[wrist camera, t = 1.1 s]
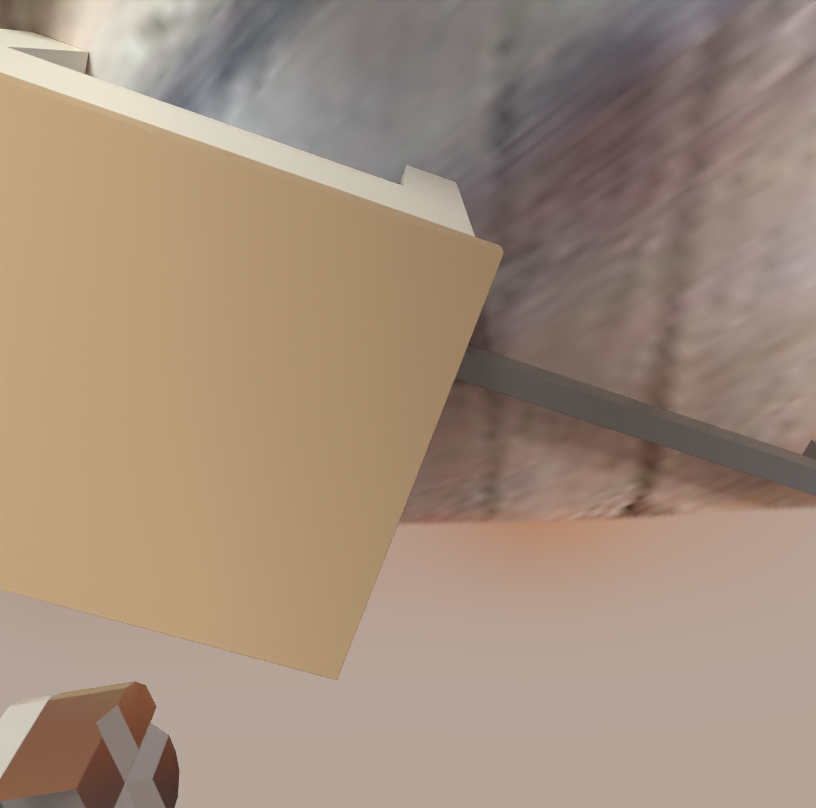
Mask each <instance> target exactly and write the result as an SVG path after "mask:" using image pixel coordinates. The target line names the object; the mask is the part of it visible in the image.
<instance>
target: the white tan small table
mask: <svg viewBox="0 0 816 808" xmlns="http://www.w3.org/2000/svg"><path fill="white" fill-rule="evenodd" d="M88 53H89V52H87V51H85V50H82V49H79V48H76V47H73V46H71V45H68V44H65V43H62V42H59V41H56V40H54V39H51V38H48V37H45V36H42V35H40V34H37V33H34V32H28V31H18V30H9V29H0V590H4V591H7V592H11V593H15V594H18V595H22V596H26V597H30V598H33V599H37V600H41V601H44V602H48V603H52V604H56V605H59V606H63V607H67V608H70V609H74V610H78V611H82V612H86V613H89V614H93V615H97V616H100V617H104V618H108V619H112V620H115V621H119V622H122V623H126V624H130V625H134V626H137V627H141V628H145V629H148V630H152V631H156V632H160V633H164V634H167V635H171V636H174V637H179V638H182V639H186V640H189V641H193V642H197V643H201V644H204V645H208V646H212V647H216V648H219V649H223V650H227V651H230V652H234V653H238V654H241V655H246V656H249V657H253V658H256V659H260V660H264V661H268V662H271V663H275V664H279V665H283V666H286V667H290V668H293V669H297V670H301V671H305V672H309V673H312V674H316V675H319V676H323V677H327V678H331V679H334V680H337V679H338V676H339V674H340V671H341V668H342V666H343V664H344V661H345V658H346V656H347V653H348V651H349V648H350V645H351V643H352V640H353V638H354V635H355V633H356V630H357V627H358V625H359V622H360V620H361V617H362V615H363V612H364V610H365V607H366V605H367V602H368V600H369V597H370V594H371V592H372V589H373V587H374V584H375V581H376V579H377V577H378V574H379V571H380V569H381V566H382V564H383V561H384V558H385V556H386V553H387V551H388V548H389V546H390V543H391V541H392V538H393V536H394V533H395V530H396V528H397V525H398V523H399V520H400V518H401V515H402V513H403V510H404V507H405V505H406V502H407V500H408V497H409V495H410V492H411V489H412V487H413V484H414V482H415V479H416V477H417V474H418V472H419V469H420V466H421V464H422V461H423V459H424V456H425V454H426V451H427V449H428V446H429V443H430V441H431V438H432V436H433V433H434V431H435V428H436V425H437V423H438V420H439V418H440V415H441V413H442V410H443V408H444V405H445V402H446V400H447V397H448V395H449V392H450V390H451V387H452V385H453V382H454V379H455V377H456V374H457V372H458V369H459V367H460V364H461V361H462V359H463V356H464V354H465V351H466V349H467V346H468V344H469V341H470V338H471V336H472V333H473V331H474V328H475V326H476V323H477V321H478V318H479V315H480V313H481V310H482V308H483V305H484V303H485V300H486V297H487V295H488V292H489V290H490V287H491V285H492V282H493V280H494V277H495V274H496V272H497V269H498V267H499V264H500V262H501V259H502V257H503V254H504V252H503V250H502V248H501V246H500V245H497V244H494V243H492V242H489V241H486V240H483V239H480V238H477V237H475V235H474V232H473V229H472V227H471V224H470V221H469V218H468V215H467V212H466V209H465V206H464V203H463V201H462V198H461V195H460V192H459V189H458V186H457V183H456V182H454V181H451V180H449V179H446V178H443V177H440V176H437V175H434V174H432V173H429V172H426V171H423V170H420V169H418V168H415V167H412V166H409V165H406V166H405V169H404V173H403V176H402V179H401V182H400V185H399V184H396V183H393V182H391V181H388V180H385V179H382V178H379V177H376V176H373V175H371V174H368V173H365V172H362V171H359V170H356V169H354V168H351V167H348V166H345V165H342V164H339V163H336V162H334V161H331V160H328V159H325V158H322V157H319V156H316V155H314V154H311V153H308V152H305V151H302V150H299V149H297V148H294V147H291V146H288V145H285V144H282V143H279V142H277V141H274V140H271V139H268V138H265V137H262V136H259V135H257V134H254V133H251V132H248V131H245V130H242V129H240V128H237V127H234V126H231V125H228V124H225V123H222V122H220V121H217V120H214V119H211V118H208V117H205V116H202V115H200V114H197V113H194V112H191V111H188V110H185V109H182V108H180V107H177V106H174V105H171V104H168V103H165V102H163V101H160V100H157V99H154V98H151V97H148V96H145V95H143V94H140V93H137V92H134V91H131V90H128V89H125V88H123V87H120V86H117V85H114V84H111V83H108V82H106V81H103V80H100V79H97V78H94V77H91V76H88V75H86V74H85V72H86V65H87V59H88Z"/></svg>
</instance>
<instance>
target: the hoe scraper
mask: <svg viewBox="0 0 816 808" xmlns="http://www.w3.org/2000/svg"><path fill="white" fill-rule="evenodd" d="M455 379H458V380H461V381H464V382H468V383H471V384H474V385H477V386H480V387H483V388H486V389H489V390H492V391H495V392H498V393H501V394H505V395H508V396H511V397H514V398H517V399H520V400H523V401H526V402H529V403H532V404H535V405H538V406H542V407H545V408H548V409H551V410H554V411H557V412H560V413H563V414H566V415H569V416H572V417H575V418H579V419H582V420H585V421H588V422H591V423H594V424H597V425H600V426H603V427H606V428H609V429H613V430H616V431H619V432H622V433H625V434H628V435H631V436H634V437H637V438H640V439H643V440H646V441H650V442H653V443H656V444H659V445H662V446H665V447H668V448H671V449H674V450H677V451H680V452H683V453H687V454H690V455H693V456H696V457H699V458H702V459H705V460H708V461H711V462H714V463H717V464H720V465H724V466H727V467H730V468H733V469H736V470H739V471H742V472H745V473H748V474H751V475H754V476H757V477H761V478H764V479H767V480H770V481H773V482H776V483H779V484H782V485H785V486H788V487H791V488H795V489H798V490H801V491H804V492H807V493H810V494H813V495H816V442H815V441H812V440H811V442H810V444H809V445H808V447H807V448H806V450H805V452H804V453H803V455H800V454H797V453H794V452H791V451H788V450H785V449H782V448H779V447H776V446H773V445H770V444H767V443H764V442H761V441H758V440H755V439H752V438H749V437H746V436H743V435H740V434H737V433H734V432H731V431H728V430H725V429H722V428H719V427H715V426H712V425H709V424H706V423H703V422H700V421H697V420H694V419H691V418H688V417H685V416H682V415H679V414H676V413H673V412H670V411H667V410H664V409H661V408H658V407H655V406H652V405H649V404H646V403H643V402H640V401H637V400H634V399H631V398H628V397H625V396H622V395H619V394H616V393H612V392H609V391H606V390H603V389H600V388H597V387H594V386H591V385H588V384H585V383H582V382H579V381H576V380H573V379H570V378H567V377H564V376H561V375H558V374H555V373H552V372H549V371H546V370H543V369H540V368H537V367H534V366H531V365H528V364H525V363H522V362H519V361H516V360H513V359H509V358H506V357H503V356H500V355H497V354H494V353H491V352H488V351H485V350H482V349H479V348H476V347H473V346H470V345H468V346H467V349H466V351H465V354H464V356H463V359H462V361H461V364H460V367H459V369H458V372H457V374H456V377H455Z"/></svg>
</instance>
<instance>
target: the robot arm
mask: <svg viewBox="0 0 816 808" xmlns="http://www.w3.org/2000/svg"><path fill="white" fill-rule="evenodd" d="M155 709H156V705H155V703H154V701H153V699H152V697H151V695H150V693H149V691H148V689H147V687H146V685H143V684H140V683H138V682H129V683H123V684H116V685H109V686H103V687H96V688H91V689H84V690H77V691H71V692H64V693H59V694H58V695H48V696H42V697H36V698H30V699H24V700H20V701H19V702H17V703H15V704H13V705H11V706H10V707H9V708H8V709H7V710H6V712H5V713H4V715H3V716H2V718H1V719H0V808H174V807H175V804H176V801H177V798H178V785H179V784H178V783H179V766H178V761H177V756H176V751H175V748H174V746H173V744H172V741H171V739H170V737H169V735H168V734H166V733H165V732H163V731H162V730H160V729H159V728H157V727H156V726H154V725H153V724H151V723H150V722H151V720H152V717H153V714H154V712H155Z"/></svg>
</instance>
